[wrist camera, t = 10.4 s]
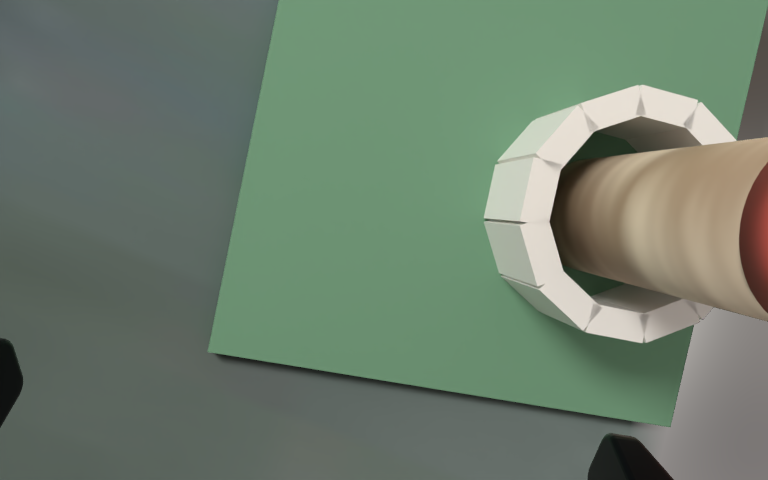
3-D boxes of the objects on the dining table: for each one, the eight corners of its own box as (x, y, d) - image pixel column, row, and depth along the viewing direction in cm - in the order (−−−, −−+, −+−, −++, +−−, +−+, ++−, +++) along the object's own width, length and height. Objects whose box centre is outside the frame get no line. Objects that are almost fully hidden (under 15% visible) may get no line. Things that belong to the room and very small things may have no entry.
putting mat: (662, 422, 24) (670, 427, 23) (209, 348, 21) (207, 352, 20) (781, -91, 23) (791, -98, 23) (331, -250, 20) (331, -262, 19)
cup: (658, 334, 23) (722, 358, 20) (466, 297, 22) (498, 316, 18) (704, 134, 23) (777, 122, 19) (512, 83, 21) (554, 60, 18)
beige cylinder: (596, 293, 22) (962, 414, 10) (511, 228, 22) (795, 274, 9) (660, 202, 23) (1098, 212, 10) (578, 134, 22) (944, 57, 9)
